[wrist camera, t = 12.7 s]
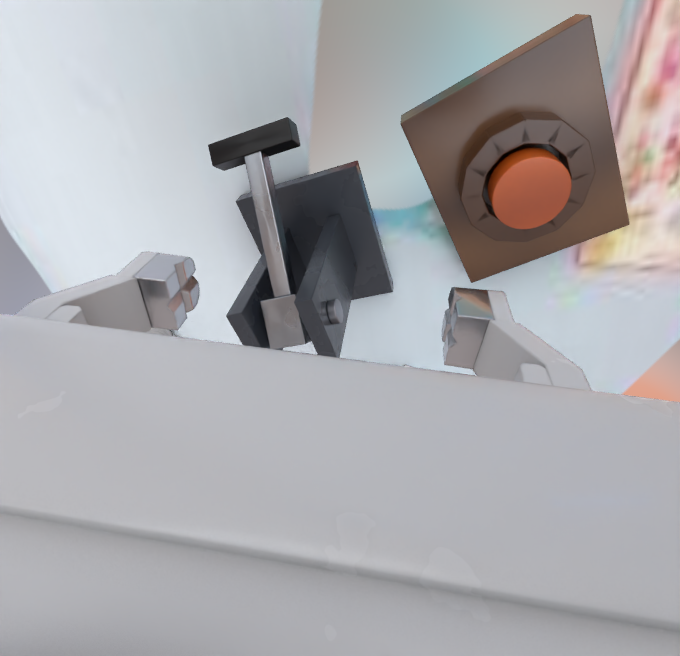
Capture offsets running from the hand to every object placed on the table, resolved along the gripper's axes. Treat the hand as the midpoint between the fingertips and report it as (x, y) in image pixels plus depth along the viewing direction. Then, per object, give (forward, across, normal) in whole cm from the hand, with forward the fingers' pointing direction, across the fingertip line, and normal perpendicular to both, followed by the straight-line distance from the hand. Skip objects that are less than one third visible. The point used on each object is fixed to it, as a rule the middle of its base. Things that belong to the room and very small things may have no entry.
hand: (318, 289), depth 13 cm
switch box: (+18, -9, 0) cm, 20 cm away
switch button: (+14, -9, +1) cm, 17 cm away
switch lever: (+11, +4, +4) cm, 13 cm away
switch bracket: (+18, +3, +7) cm, 19 cm away
